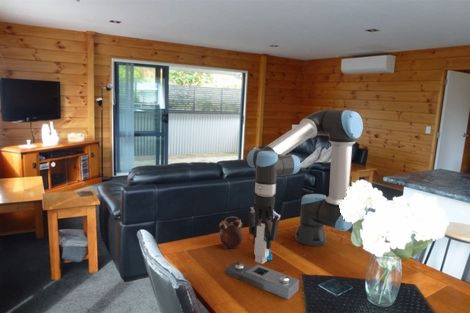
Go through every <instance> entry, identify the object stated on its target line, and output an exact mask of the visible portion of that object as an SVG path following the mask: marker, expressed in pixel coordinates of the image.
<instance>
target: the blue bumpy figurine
mask: <svg viewBox="0 0 470 313" xmlns="http://www.w3.org/2000/svg"><path fill="white" fill-rule="evenodd" d="M273 257H274V256H273V254H272V251H271V250H270V249H269V256H267V261H272V260H273Z"/></svg>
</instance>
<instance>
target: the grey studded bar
mask: <svg viewBox="0 0 470 313" xmlns="http://www.w3.org/2000/svg"><path fill="white" fill-rule="evenodd" d="M224 274H227V275H229V276H231V277H233V278H235V279H238V280H240V281H243V282H245V283H248V284H249V285H253V286H255V287H256V288H259V289H262V290H264V291H266V292H269V293H270V294H271V293H272V294H274V295H276V296H278V297H280V298H283V299H286V300H290V298H291V297H292V296H294V295H295V294H296V293H298V291H299V288H300V286H299V285H300V279H297V278H295V277H292V276H290V275H287V274H284V273H282V272H279V271H276V270H274V269H271V268H269V267H267V266H263V265H262V264H261V265H260V264H256V265H255V266H251V265H249V264H246V263H243V262H240V261H238V260H237V261H236V262H233V263H231V264H230V265H229V266H227V267H225V268H224Z"/></svg>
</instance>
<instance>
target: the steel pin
mask: <svg viewBox="0 0 470 313" xmlns="http://www.w3.org/2000/svg"><path fill="white" fill-rule="evenodd" d="M264 240H266V234H265V223H261V224H259V225H257V235H256V253H255V254H254V256H255V258H254V262H255V263H258V264H261V265H264V264H265V263H267V261H268V260H267V257H265V258H264V257H263V250H264Z"/></svg>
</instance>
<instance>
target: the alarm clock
mask: <svg viewBox="0 0 470 313" xmlns="http://www.w3.org/2000/svg"><path fill="white" fill-rule="evenodd" d="M229 218H230V219H231V218H235V220H234V221H230V222H228V221H227V219H229ZM218 227H219V229H220V230H219V233H218V234H219V236H218V237H219V240H220V242H221V244H222V247H223V248H224V249H227V248H228V249H233V248H237V249H238V248H239V245H240V244H241V243H242V242H243V239H244V232H243V230H242V228H243V222H242V221H241V218H238V217H237V216H234V215H233V216H228V217H225V218H224V220H221V222H220V223H219V226H218Z"/></svg>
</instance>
